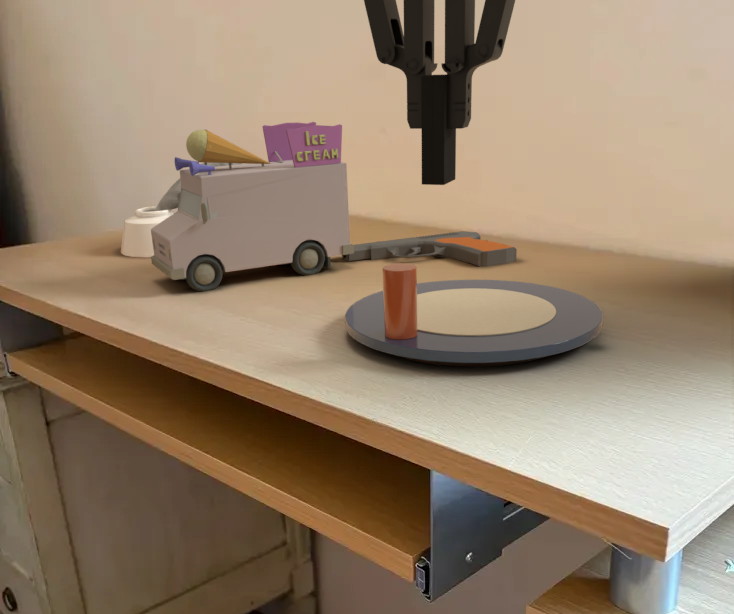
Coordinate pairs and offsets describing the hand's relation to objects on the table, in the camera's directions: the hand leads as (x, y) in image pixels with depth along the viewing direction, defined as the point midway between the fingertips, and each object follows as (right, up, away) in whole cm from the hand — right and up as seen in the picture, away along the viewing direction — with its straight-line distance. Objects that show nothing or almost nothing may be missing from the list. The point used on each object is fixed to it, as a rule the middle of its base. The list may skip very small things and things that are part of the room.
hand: (438, 181), depth 54 cm
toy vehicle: (-16, -1, +33) cm, 37 cm away
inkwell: (-27, +5, +50) cm, 57 cm away
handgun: (+2, +1, +36) cm, 36 cm away
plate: (+4, -8, +11) cm, 14 cm away
